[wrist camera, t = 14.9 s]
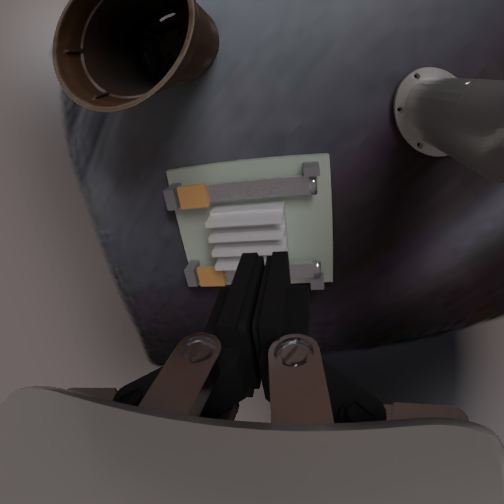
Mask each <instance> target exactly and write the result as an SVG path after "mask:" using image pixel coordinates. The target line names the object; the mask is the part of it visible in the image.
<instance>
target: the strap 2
mask: <svg viewBox="0 0 504 504" xmlns="http://www.w3.org/2000/svg"><path fill="white" fill-rule="evenodd" d="M214 266H215V265H207V266H199V267H197V269H196V270H197V274H198V278H199V282H200V285H201V287H203V286H225V285H226V281H233V278H234V275H235V272H236V270H225V271H215V267H214ZM289 268H290V279H296V278H320V277H321V261H320V260H314V261H294V262H289Z"/></svg>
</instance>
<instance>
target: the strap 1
mask: <svg viewBox="0 0 504 504" xmlns="http://www.w3.org/2000/svg"><path fill="white" fill-rule="evenodd" d="M176 189H177V193H178V197H179V202H180V206H181V210H184V209H193V208H203V207H209V206H210V202H219V201H230V200H241V199H253V198H266V197H279V196H294V195H316V194H318V189H317V176H311V177H304V175H293V176H279V177H267V178H256V179H245V180H235V181H225V182H216V183H208V184H206V183H200V184H192V185H184V186H178V187H177V188H176Z"/></svg>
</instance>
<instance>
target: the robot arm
mask: <svg viewBox="0 0 504 504" xmlns="http://www.w3.org/2000/svg"><path fill="white" fill-rule="evenodd" d="M414 75H416V78H414ZM398 108H400V111H398V110H397V109H398ZM393 114H394V119H395V122H396V125H397V128H398V130H399V131H400V133H401V135H402V136H403V138H404V139H405V140H406V141H407V143H409V144H410V145H411V146H412V147H413V148H415V149H416V150H418V151H419V152H421V153H424V154H426V155H429V156H434V157H442V156H448V155H449V156H451V157H452V158H454V159H456V160H457V161H459V162H461V163H462V164H464V165H466V166H467V167H469V168H471V169H472V170H474V171H475V172H477V173H479V174H481V175H482V176H484V177H485V178H487V179H489V180H492V181H494V182H498V183H504V81H498V80H481V79H459V78H456V77H455V76H453V75H452V74H451V73H449V72H447V71H445V70H443V69H439V68H435V67H424V68H419V69H416V70H413V71H412V72H410V73H408V74H407V75H406V76H405V77H404V78H403V79H402V80H401V81H400V83H399V85H398V86H397V89H396V91H395V94H394V99H393ZM418 143H419V146H417V144H418ZM261 379H262V385H263V389H264V393H265V398H266V399H267V400H268V401H269V402H270V405H271V406H270V407H271V423H261V422H244V421H234V419H235V417H236V414H237V412H238V409H239V402H240V401H241V400H243V399H245V398H246V397H253V393H254V389H259V388H260V384H261ZM0 504H504V445H503V443H502V442H501V440H500V438H499V437H498V436H497V435H496V434H495V433H494V432H493V431H492V430H491V429H489V428H487V427H485V426H483V425H480V424H477V423H474V422H470V421H469V419H468V416H467V415H466V413H465V412H464V411H463V410H461V409H460V408H458V407H454V406H443V405H423V404H409V403H398V402H394V404H393V405H385V404H383V403H382V402H381V401H379V400H378V399H377V398H376V397H374V396H373V395H371V394H370V393H368V392H367V391H365V390H364V389H363V388H361V387H360V386H358V385H357V384H355V383H354V382H352V381H351V380H350V379H348V378H347V377H345V376H344V375H342V374H341V373H340V372H338V371H337V370H335V369H334V368H332V367H331V366H330V365H328V364H327V363H325V362H324V361H323V360H322V359H321V354H320V349H319V346H318V344H317V342H316V341H315V340H313V339H312V338H311V337H310V297H309V285H301V286H291V280H290V268H289V256H288V251H278V252H273V253H272V256H267V258H266V263H264V257H263V256H259V255H258V253H257V252H255V253H242V255H241V258H240V261H239V264H238V266H237V269H236V272H235V275H234V278H233V281H232V283H231V286H230V287H223V288H221V290H220V292H219V294H218V297H217V299H216V302H215V305H214V307H213V310H212V312H211V315H210V317H209V320H208V323H207V325H206V328H205V330H204V333H196V334H192V335H190V336H187V337H186V338H184V339H183V340H181V342H180V343H179V344H178V345H177V346H176V348H175V350H174V351H173V353H172V354H171V356H170V357H169V359H168V360H167V362H166V363H165V365H164V366H163V367H161V368H159V369H157V370H155V371H153V372H151V373H149V374H147V375H145V376H143V377H141V378H139V379H137V380H135V381H133V382H131V383H129V384H127V385H125V386H124V387H122V388H121V389H120V390H119V391H117V390H116V388H69V389H67V390H65V389H62V388H55V387H45V386H33V387H25V388H21V389H18V390H15V391H14V392H12V393H11V394H10V395H9V396H8V397H7V398H6V399H5V400H4V402H3V403H2V404H1V405H0Z"/></svg>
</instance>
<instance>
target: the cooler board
mask: <svg viewBox="0 0 504 504" xmlns="http://www.w3.org/2000/svg"><path fill="white" fill-rule="evenodd" d="M166 175H167V179H168V184H169V186H168V187H167V188H166V189H165V190H164V191H163V193H164V197H165V201H166V206H167V210H168V211H172V210H175V213H176V217H177V221H178V225H179V229H180V233H181V237H182V241H183V245H184V249H185V252H186V256H187V260H188V265H187V267H186V268H185V270H184V273H185V276H186V280H187V283H188V286H189V287H197V286H198V285H200V282H199V278H198V274H197V270H196V269H197V267H199V266H207V265H215V266H214V267H215V271H225V270H236V269H237V266H238V264H239V261H240V258H241V255H242V253H255V252H257V253H258V255H259V256H263V257H264V263H266V258H267V256H272V253H273V252H278V251H288V256H289V262H294V261H314V260H320V261H321V277H320V278H296V279H290V280H291V283H311V290H322V289H324V282H333V229H332V198H331V177H330V160H329V153H325V154H306V155H291V156H278V157H266V158H255V159H245V160H236V161H227V162H218V163H210V164H203V165H196V166H188V167H182V168H175V169H169V170H167V171H166ZM293 175H304V177H311V176H317V189H318V194H316V195H294V196H279V197H266V198H253V199H241V200H230V201H219V202H210V206H209V207H203V208H193V209H184V210H181V206H180V202H179V197H178V193H177V189H176V188H177V187H178V186H184V185H192V184H200V183H206V184H208V183H216V182H225V181H235V180H245V179H256V178H267V177H279V176H293ZM231 283H232V281H226V285H231Z"/></svg>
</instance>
